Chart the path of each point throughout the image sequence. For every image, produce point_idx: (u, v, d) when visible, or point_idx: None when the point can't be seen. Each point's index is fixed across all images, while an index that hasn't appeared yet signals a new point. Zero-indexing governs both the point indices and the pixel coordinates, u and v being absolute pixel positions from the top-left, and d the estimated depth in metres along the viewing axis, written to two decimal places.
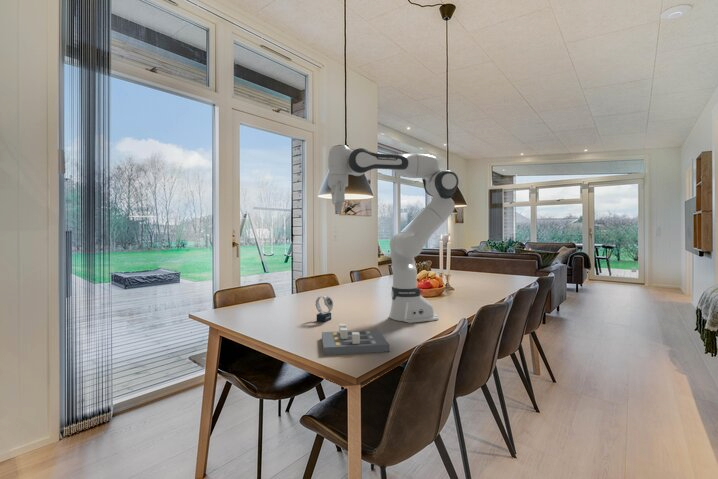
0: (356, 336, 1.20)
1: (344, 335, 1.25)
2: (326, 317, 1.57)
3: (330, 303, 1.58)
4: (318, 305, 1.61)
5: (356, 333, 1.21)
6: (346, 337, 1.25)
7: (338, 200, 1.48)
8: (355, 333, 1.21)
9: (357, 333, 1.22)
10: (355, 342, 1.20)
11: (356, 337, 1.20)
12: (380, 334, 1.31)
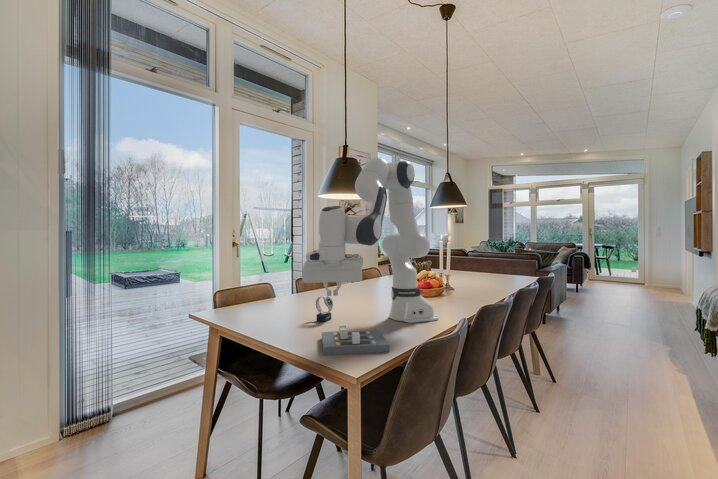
0: (356, 336, 1.20)
1: (344, 335, 1.25)
2: (326, 317, 1.57)
3: (330, 303, 1.58)
4: (318, 305, 1.61)
5: (356, 333, 1.21)
6: (346, 337, 1.25)
7: (361, 279, 1.20)
8: (355, 333, 1.21)
9: (357, 333, 1.22)
10: (355, 342, 1.20)
11: (356, 337, 1.20)
12: (380, 334, 1.31)
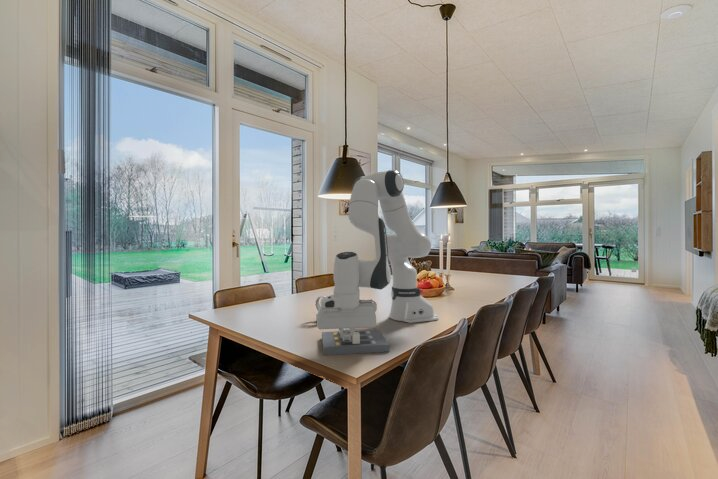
0: (356, 336, 1.20)
1: None
2: None
3: None
4: (318, 305, 1.61)
5: (356, 333, 1.21)
6: None
7: None
8: (355, 333, 1.21)
9: (357, 333, 1.22)
10: (355, 342, 1.20)
11: (356, 337, 1.20)
12: (380, 334, 1.31)
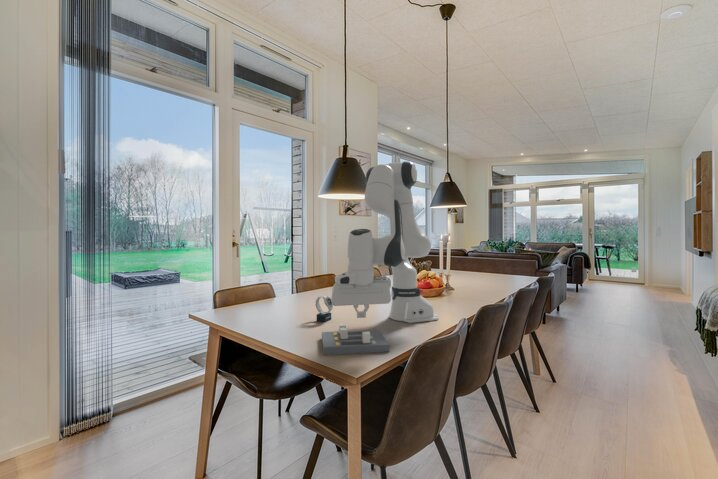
0: (366, 335, 1.21)
1: (344, 335, 1.25)
2: (326, 317, 1.57)
3: (330, 303, 1.58)
4: (318, 305, 1.61)
5: (367, 333, 1.21)
6: (346, 337, 1.25)
7: None
8: (365, 333, 1.22)
9: (368, 332, 1.22)
10: (365, 341, 1.21)
11: (366, 337, 1.21)
12: (380, 334, 1.31)
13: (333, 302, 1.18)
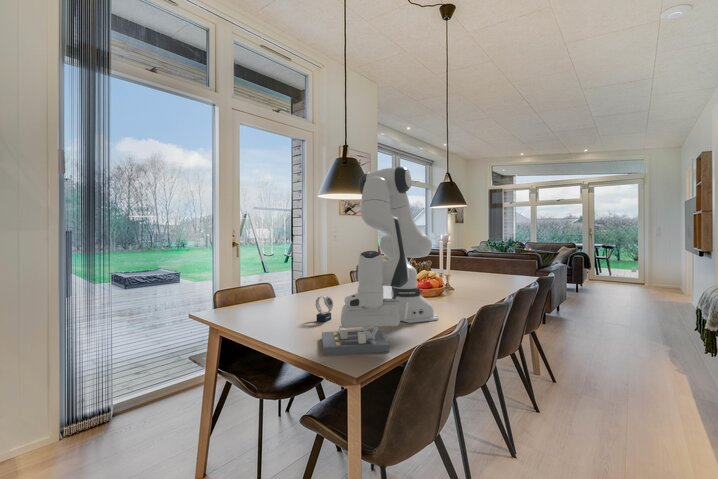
0: (362, 335, 1.20)
1: (344, 335, 1.25)
2: (326, 317, 1.57)
3: (330, 303, 1.58)
4: (318, 305, 1.61)
5: (362, 333, 1.21)
6: (346, 337, 1.25)
7: None
8: (361, 333, 1.21)
9: (363, 332, 1.22)
10: (361, 342, 1.21)
11: (362, 337, 1.20)
12: (380, 334, 1.31)
13: (343, 324, 1.19)
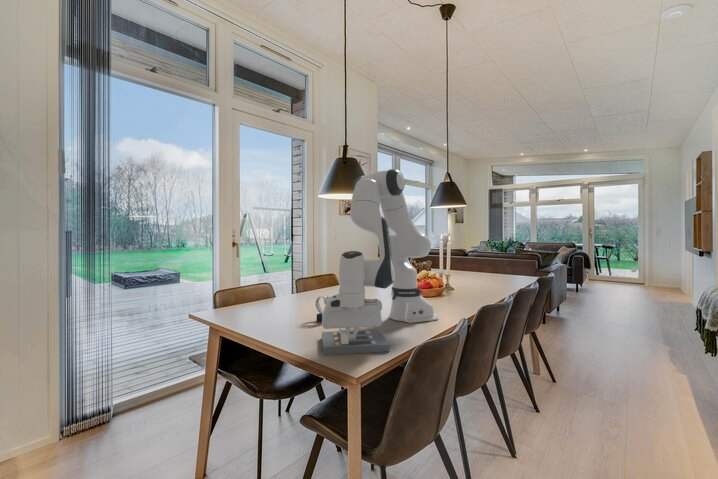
0: (345, 336, 1.20)
1: None
2: None
3: None
4: (318, 305, 1.61)
5: (345, 334, 1.20)
6: None
7: None
8: (344, 333, 1.21)
9: (346, 333, 1.21)
10: (344, 342, 1.20)
11: (345, 338, 1.20)
12: (380, 334, 1.31)
13: (323, 325, 1.18)
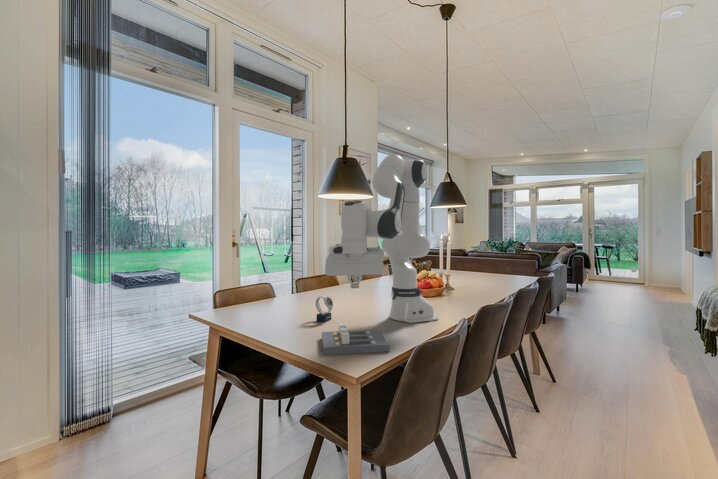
0: (345, 336, 1.20)
1: None
2: (326, 317, 1.57)
3: (330, 303, 1.58)
4: (318, 305, 1.61)
5: (346, 334, 1.20)
6: None
7: None
8: (345, 333, 1.21)
9: (347, 333, 1.21)
10: (344, 342, 1.20)
11: (346, 338, 1.20)
12: (380, 334, 1.31)
13: (326, 272, 1.19)
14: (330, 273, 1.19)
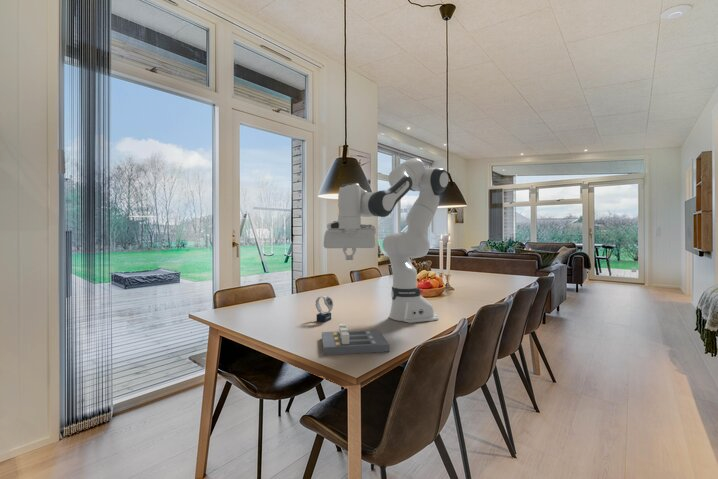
0: (345, 336, 1.20)
1: None
2: (326, 317, 1.57)
3: (330, 303, 1.58)
4: (318, 305, 1.61)
5: (346, 334, 1.20)
6: None
7: None
8: (345, 333, 1.21)
9: (347, 333, 1.21)
10: (344, 342, 1.20)
11: (346, 338, 1.20)
12: (380, 334, 1.31)
13: (325, 245, 1.36)
14: (328, 246, 1.37)
